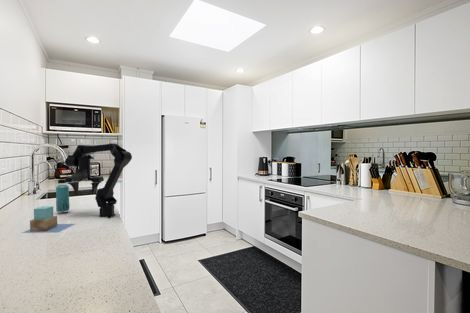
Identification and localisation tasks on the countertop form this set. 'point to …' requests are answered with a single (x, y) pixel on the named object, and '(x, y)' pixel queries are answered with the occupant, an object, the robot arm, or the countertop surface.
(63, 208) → the beverage bottle
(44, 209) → the teal cube
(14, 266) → the countertop surface
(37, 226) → the walnut base block
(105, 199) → the robot arm
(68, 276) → the countertop surface
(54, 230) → the blue flat board
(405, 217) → the countertop surface
